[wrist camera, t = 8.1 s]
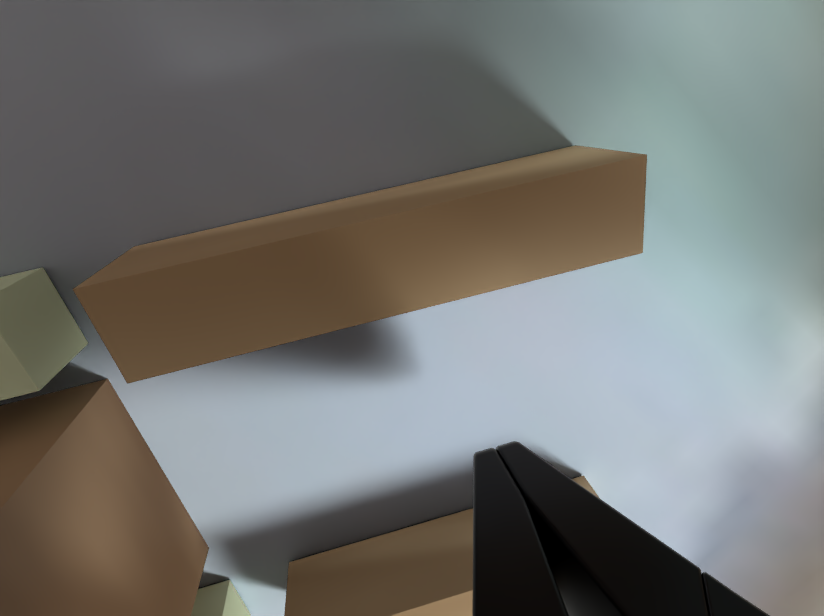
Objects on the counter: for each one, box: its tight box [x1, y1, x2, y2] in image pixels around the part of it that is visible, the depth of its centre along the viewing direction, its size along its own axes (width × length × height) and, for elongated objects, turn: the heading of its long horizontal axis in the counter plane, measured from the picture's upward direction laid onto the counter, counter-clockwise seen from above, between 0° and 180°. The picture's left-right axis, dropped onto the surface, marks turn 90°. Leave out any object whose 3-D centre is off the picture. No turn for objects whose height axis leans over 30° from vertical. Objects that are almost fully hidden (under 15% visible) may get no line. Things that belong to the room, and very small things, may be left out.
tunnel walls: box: [73, 145, 647, 616], centre depth 9 cm, size 10×8×2 cm
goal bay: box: [0, 267, 251, 616], centre depth 9 cm, size 10×5×2 cm, turn 11°
